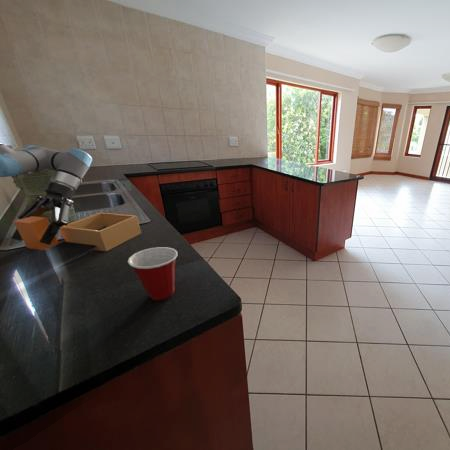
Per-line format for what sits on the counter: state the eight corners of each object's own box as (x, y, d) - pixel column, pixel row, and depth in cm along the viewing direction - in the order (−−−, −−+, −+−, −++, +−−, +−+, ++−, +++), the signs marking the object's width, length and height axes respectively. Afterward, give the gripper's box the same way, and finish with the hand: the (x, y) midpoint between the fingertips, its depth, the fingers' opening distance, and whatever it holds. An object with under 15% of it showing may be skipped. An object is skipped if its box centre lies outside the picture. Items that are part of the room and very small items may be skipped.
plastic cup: (190, 295, 63) (182, 256, 59) (143, 313, 57) (130, 272, 52) (179, 276, 71) (171, 241, 66) (137, 290, 65) (125, 253, 60)
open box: (67, 246, 88) (59, 227, 85) (106, 229, 102) (100, 212, 99) (106, 251, 85) (99, 231, 81) (141, 233, 99) (136, 215, 95)
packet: (29, 252, 83) (13, 221, 78) (45, 246, 88) (31, 216, 83) (44, 255, 82) (29, 223, 77) (60, 248, 86) (47, 217, 82)
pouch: (35, 235, 95) (5, 173, 86) (56, 224, 106) (32, 168, 96) (67, 233, 98) (41, 172, 88) (85, 222, 108) (64, 167, 98)
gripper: (98, 193, 89) (69, 248, 82) (48, 189, 94) (17, 241, 86) (78, 183, 83) (45, 241, 75) (26, 179, 87) (-11, 234, 79)
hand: (30, 241), depth 80 cm, fingers open, 12 cm apart
